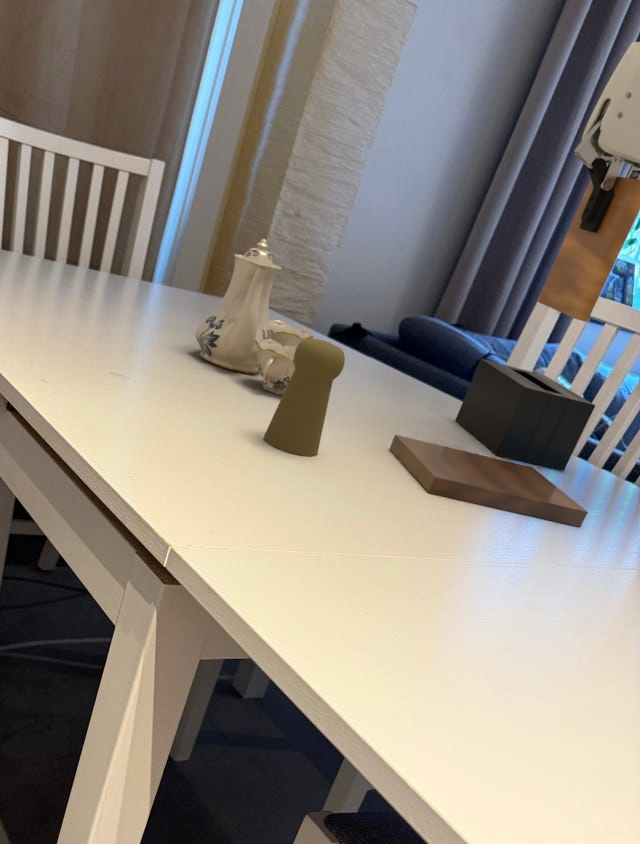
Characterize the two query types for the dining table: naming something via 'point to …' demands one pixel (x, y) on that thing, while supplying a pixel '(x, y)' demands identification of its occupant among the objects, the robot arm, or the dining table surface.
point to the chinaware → (251, 325)
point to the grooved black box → (523, 415)
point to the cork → (306, 398)
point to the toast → (591, 253)
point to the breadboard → (486, 481)
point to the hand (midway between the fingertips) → (597, 232)
